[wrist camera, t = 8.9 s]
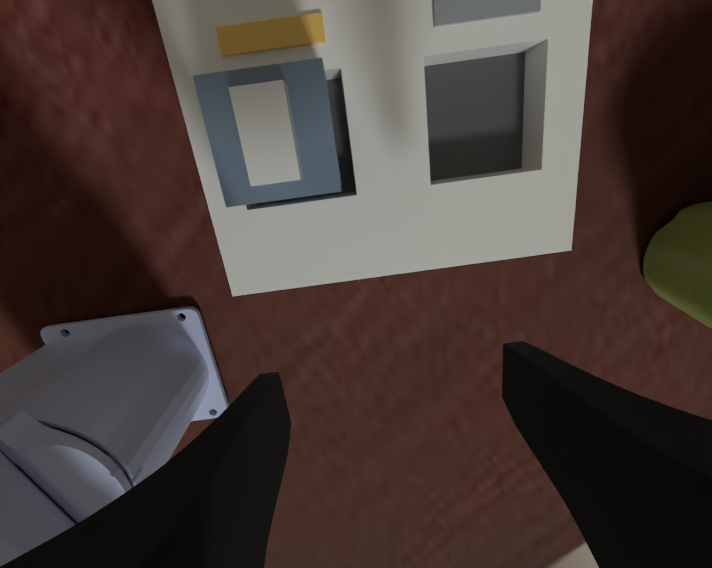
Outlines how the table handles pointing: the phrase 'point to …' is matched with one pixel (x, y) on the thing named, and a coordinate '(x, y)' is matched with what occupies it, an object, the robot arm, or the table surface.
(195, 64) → the socket panel
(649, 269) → the plant pot
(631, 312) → the table surface
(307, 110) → the plug
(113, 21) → the table surface
